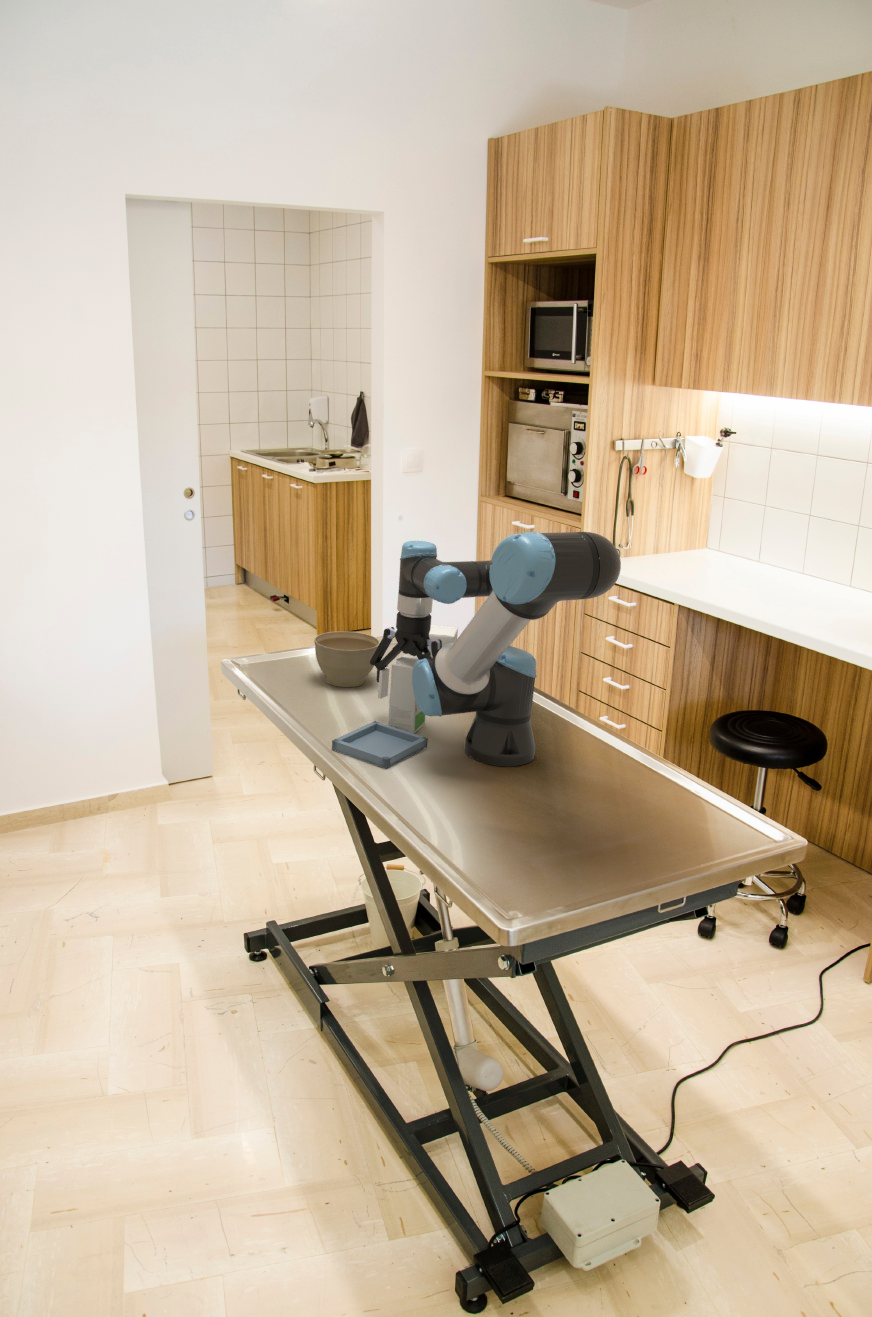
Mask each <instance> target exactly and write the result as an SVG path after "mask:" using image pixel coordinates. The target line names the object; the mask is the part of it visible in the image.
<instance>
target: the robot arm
mask: <svg viewBox="0 0 872 1317" xmlns="http://www.w3.org/2000/svg"><path fill="white" fill-rule="evenodd" d="M437 549H438V548H437V546H436V545H435V543H433V542H429V541H427V540H408V541H405V542H404V543H402V546H401V554H400V558H399V561H400V562H399V577H398V595H397V607H396V610H397V611H398V612H397V613H396V622H395V628H396V629H395V628H394V626H391V627H387V628H385V629H384V630H383V634H382V635H383V636H382V639H381V641H380V644H379V646H378V647H377V649H376V651H375V653H374V655H373V656H372V658H371V660H370V664H371V665H374V667H375V668H376V683H378V690H377V692H378V694H377V699H380V700H381V699H384V698H386V697H388V696H389V695H388V694H389V680H390V679H389V678H390V668H388V666H389V664H390V663H392V662H393V660H395V658H397V656H399V654H401V653H403V654H404V655H407V654H408V655H409V656H412V657H417V658H418V659H419V660H418V661H417V662H416V663H415V665H414V667H413V672H412V685H413V692H414V696H415V700H416V703H417V705H418V707H419V709H420V710H421V712H423V713H424V714H425V715H426V717H442V716H451V715H459V714H468V713H475V716H474V719H473V721H472V723H471V725H470V726H469V729H468V731H467V734H466V736H465V740H464V747H463V750H464V752H465V754H466V755H467V756H468V757H469V758H471V759H473V760H475V761H477V762H480V763H483V764H486V765H490V766H491V765H492V766H497V767H516V766H523V765H526V764H528V763H531V762H532V761H533V760H534V759H535V755H536V754H535V753H536V742H535V739H534V732H533V729H532V725H531V718H532V717H531V716H532V708H533V700H534V691H535V686H536V685H535V682H536V678H537V660H536V658H535V657H534V655H533V654H532V653H530V652H528V651H527V650H524V649H522V648H518V647H516V646H512V643H514V641H515V640H516V638H517V637H519V635H520V634H521V632H522V631H523V630H524V629H525V628H526V626H527V625H528V624H529V623H530V621H536V620H540V619H542V618H544V617H546V615H547V614H548V613H549V612H550V611H551V610H552V609H553V607H554V606H555V605H556V604H557V603H559V602H561V601H562V602H563V601H575V600H576V601H577V600H589V599H593V598H597V597H601V596H602V595H604V594H606V593H607V592H609V591H610V590H611V589H612V588H613V587H614V586H615V584H616V583H617V581H618V579H619V576H620V573H621V569H622V568H621V567H622V566H621V565H622V562H621V558H620V557H621V556H620V554H619V552H618V549H617V548H616V546H615V545H614V543H612V542H611V541H610V540H609V539H608V538H607V537H605V536H603V535H601V534H598V533H595V532H590V531H575V532H574V531H569V532H567V531H565V532H537V531H525V532H522V533H514V534H510V535H509V536H506V537H505V538H503V539H502V540H501V541H500V542H499V543H498V545H496V547H495V549H494V551H493V553H492V556H491V559H490V560H475V561H474V560H471V561H469V560H468V561H466V560H465V561H442V560H440V559H439V558H438V550H437ZM479 597H480V598H481V597H484V598H485V597H486V599H485V601H484V602H483V603H482V604H481V607H479V609H478V610H477V611H476V613H475V614H474V616H473V617H472V618H471V620H470V621H469V622H468V624H467V625H466V626H465V628H464V629H463V630H462V632H461V633H460V635H459V636H457V640H456V641H455V642H454V643H449V644H447V645H445V646H443V647H442V641H441V640H440V639H438V640H430V638H429V632H430V629H431V624H432V614H431V613H432V612H433V601H436V602H439V603H441V604H447V605H451V604H455V603H456V602H458V601H460V600H461V599H465V598H479ZM394 638H395V640H396V642H397V643H396V644H394V646H393V647H392V648H391V650H390V651H389V652H387V650H388V648H389V647H390V645H391V643H392V641H393V639H394ZM428 646H430V648H429V649H430V650H431V652H432V656H433V658H432V657H431V653H430V651H429V649H428ZM386 652H387V654H386ZM423 652H424V654H422V653H423ZM385 654H386V655H385ZM384 655H385V656H384Z"/></svg>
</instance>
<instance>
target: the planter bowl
mask: <svg viewBox="0 0 872 1317" xmlns="http://www.w3.org/2000/svg"><path fill="white" fill-rule="evenodd" d="M313 642H314V646H315V647H314V649H315V650H314V651H315V657H316V661H317V664H318V666H319V668H320V671H321V672H322V673H323V674H324V676H325V680H326V682H327V683H328V684H330V685H332V686H336V687H340V688H342V687H343V688H353V687H360V686H361V685H364V683H365V680H366V678H367V677H368V676H369V674H370V673H371V672H372V670H373V668H374V667H375V666H374V665H371V664H370V660H371V658H372V656H373V655H374V653H375V651H376V649H377V647H378V646H379V644H380V642H381V641H380V639H379V638H377V637H375V636H374V635H370V634H367V633H363V632H356V631H345V630H344V631H343V630H342V631H328V632H324V633H320V634H318V635H316V636H315V637H314V640H313Z"/></svg>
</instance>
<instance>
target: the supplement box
mask: <svg viewBox="0 0 872 1317" xmlns="http://www.w3.org/2000/svg"><path fill="white" fill-rule="evenodd" d="M458 634H459V627H456V626H449V625H440V624H432V623H431V629H430V632H429V638H430V640H438V639H440V640H441V641H442V647H443V646H445V645H447V644H449V643H454V642H455V641H456V640H457V639H458ZM429 648H430V646H428V649H429ZM429 651H430V653H431V657H432V658H433V656H432V652H431V650H430V649H429ZM422 654H424V652H423V653H422Z"/></svg>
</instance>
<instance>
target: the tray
mask: <svg viewBox="0 0 872 1317" xmlns="http://www.w3.org/2000/svg"><path fill="white" fill-rule="evenodd" d="M331 741H332V742H331V750H332V751H334V750H336V751H335V752H337V751H338V753H340V754H342V755H343V754H344V756H348V757H351V758H354V759H357V760H358V761H363V762H365V763H369V764H371V765H374V766H375V767H376V766H377V767H380V768H382V769H385V770H387V769H389V768H391V767H394V766H395V765H396V764H398V763H400V762H402V761H404V760H406V759H408V758H409V757H411V756H412V757H413V755H416V754H417V753H418V752H421V751H423V750H424V749H426V748H428V743H429V742H428V741H429V740H428V737H425V736H422V735H419V734H416V733H410V732H407V731H404V730H401V729H398V728H395V727H392V726H389V725H388V724H385V723H382V722H381V721H376V720H374V721H372V722H370V723H367V724H365V725H363V726H361V727H359V728H356V729H354V730H352V731H350V732H347V733H346V734H343V735H341V736H339V737H337V738H335V739H333V740H331Z"/></svg>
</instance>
